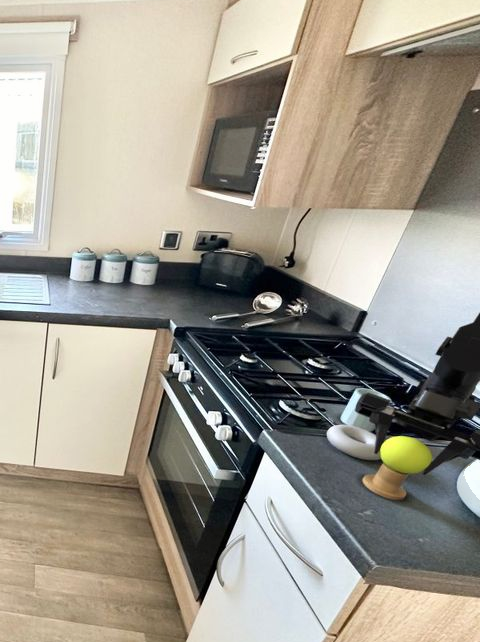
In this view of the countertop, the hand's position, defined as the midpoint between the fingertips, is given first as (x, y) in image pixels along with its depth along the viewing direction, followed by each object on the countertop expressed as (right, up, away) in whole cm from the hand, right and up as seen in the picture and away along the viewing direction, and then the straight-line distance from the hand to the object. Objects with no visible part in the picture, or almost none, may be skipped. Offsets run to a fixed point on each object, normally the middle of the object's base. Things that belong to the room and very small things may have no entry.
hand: (399, 463), depth 75 cm
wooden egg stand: (+1, -6, +4) cm, 7 cm away
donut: (+5, -1, +15) cm, 16 cm away
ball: (+1, +2, 0) cm, 2 cm away
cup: (+14, +3, +23) cm, 27 cm away
